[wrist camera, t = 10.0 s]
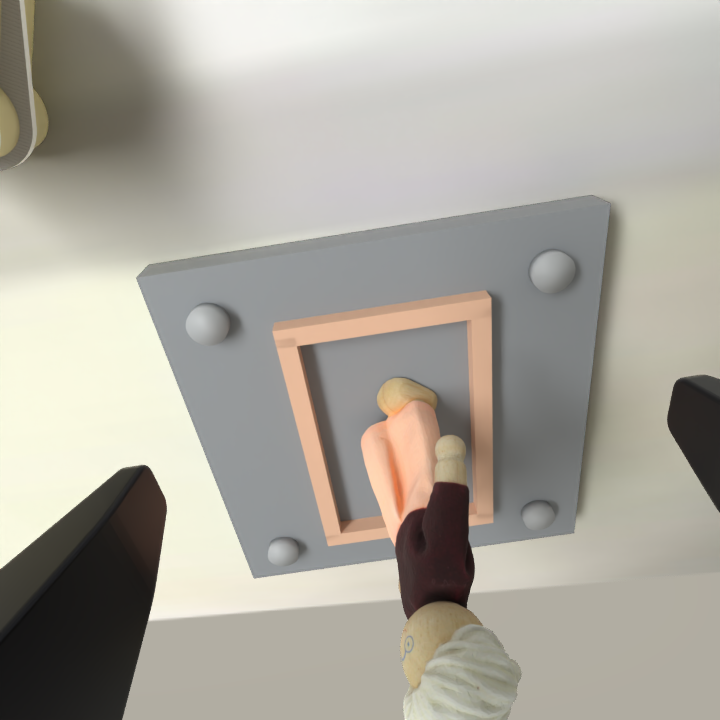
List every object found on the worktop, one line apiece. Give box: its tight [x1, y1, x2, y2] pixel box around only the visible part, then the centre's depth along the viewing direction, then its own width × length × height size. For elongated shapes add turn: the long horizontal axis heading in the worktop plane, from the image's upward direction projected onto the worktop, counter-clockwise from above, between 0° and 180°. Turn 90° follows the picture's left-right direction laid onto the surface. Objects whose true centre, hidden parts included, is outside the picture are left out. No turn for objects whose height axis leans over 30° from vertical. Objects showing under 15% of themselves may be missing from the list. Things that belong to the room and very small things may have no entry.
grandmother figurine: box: [361, 378, 521, 720], centre depth 18 cm, size 8×4×13 cm, turn 3°
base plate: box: [136, 195, 611, 578], centre depth 23 cm, size 18×18×2 cm
